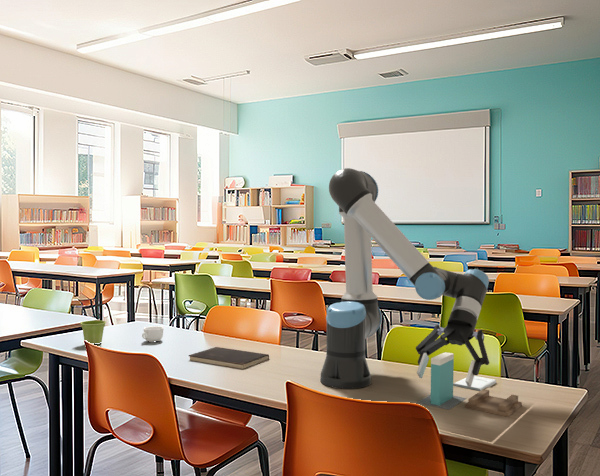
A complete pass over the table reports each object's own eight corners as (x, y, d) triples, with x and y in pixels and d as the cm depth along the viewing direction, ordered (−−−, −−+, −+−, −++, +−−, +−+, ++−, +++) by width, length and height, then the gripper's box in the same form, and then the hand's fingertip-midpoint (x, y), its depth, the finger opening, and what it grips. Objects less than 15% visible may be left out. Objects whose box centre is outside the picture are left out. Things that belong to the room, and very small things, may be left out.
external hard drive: (452, 388, 162) (470, 379, 172) (480, 394, 157) (496, 384, 166) (452, 383, 162) (470, 374, 172) (480, 388, 157) (496, 379, 166)
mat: (435, 393, 156) (435, 391, 156) (466, 399, 150) (466, 398, 150) (416, 403, 146) (416, 402, 146) (449, 411, 141) (449, 409, 141)
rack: (480, 398, 151) (480, 388, 151) (521, 406, 145) (521, 396, 145) (464, 408, 143) (465, 398, 143) (508, 418, 136) (508, 407, 136)
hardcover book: (242, 370, 180) (242, 363, 180) (188, 361, 192) (188, 355, 192) (269, 360, 194) (269, 354, 194) (217, 352, 206) (217, 346, 205)
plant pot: (88, 341, 221) (88, 319, 221) (110, 342, 220) (110, 320, 219) (75, 346, 212) (75, 323, 211) (98, 347, 210) (98, 324, 210)
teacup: (153, 338, 227) (153, 325, 227) (167, 340, 224) (167, 327, 224) (135, 343, 219) (135, 329, 219) (149, 345, 215) (149, 331, 215)
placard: (444, 395, 152) (445, 352, 152) (453, 397, 151) (453, 353, 151) (430, 403, 145) (431, 358, 145) (439, 405, 144) (440, 359, 144)
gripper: (511, 329, 153) (493, 396, 142) (427, 319, 168) (404, 379, 157) (505, 312, 149) (486, 380, 137) (419, 304, 164) (396, 364, 152)
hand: (442, 379), depth 147 cm, fingers open, 13 cm apart
